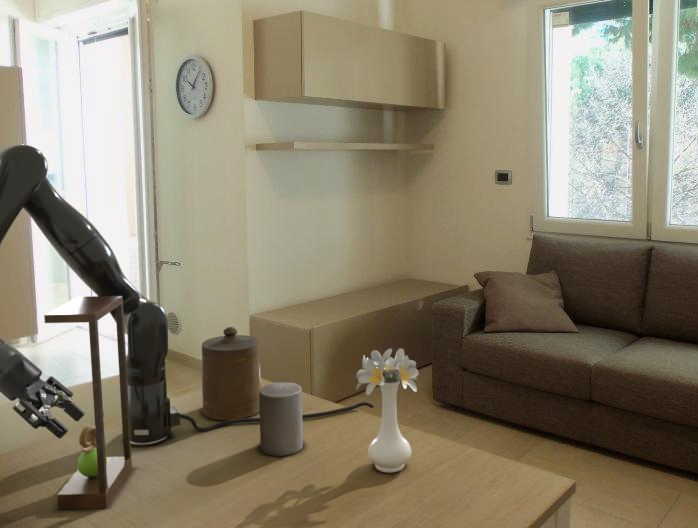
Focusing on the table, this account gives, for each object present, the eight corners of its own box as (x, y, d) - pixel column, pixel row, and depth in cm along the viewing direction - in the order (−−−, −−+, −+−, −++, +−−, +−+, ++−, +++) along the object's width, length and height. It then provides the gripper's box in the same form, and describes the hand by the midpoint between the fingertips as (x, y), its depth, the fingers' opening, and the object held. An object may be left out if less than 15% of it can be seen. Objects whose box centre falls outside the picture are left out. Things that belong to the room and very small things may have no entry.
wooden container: (272, 404, 182) (270, 323, 180) (238, 424, 169) (235, 337, 166) (226, 396, 188) (223, 318, 186) (190, 415, 175) (187, 331, 172)
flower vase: (419, 447, 155) (419, 340, 152) (417, 486, 137) (417, 365, 134) (362, 445, 157) (361, 339, 153) (352, 484, 138) (351, 364, 135)
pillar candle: (251, 452, 153) (249, 387, 152) (274, 435, 162) (273, 374, 160) (289, 459, 150) (288, 393, 148) (311, 441, 159) (309, 379, 157)
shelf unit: (57, 509, 129) (44, 315, 124) (88, 470, 145) (77, 296, 140) (106, 508, 130) (94, 314, 125) (132, 469, 145) (122, 295, 141)
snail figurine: (117, 469, 139) (113, 412, 137) (93, 483, 133) (89, 424, 131) (95, 465, 141) (92, 409, 139) (71, 479, 135) (67, 420, 133)
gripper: (4, 368, 126) (72, 427, 128) (38, 347, 140) (99, 399, 142) (-24, 397, 126) (45, 455, 128) (13, 373, 140) (74, 425, 143)
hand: (73, 426), depth 135 cm, fingers open, 8 cm apart
